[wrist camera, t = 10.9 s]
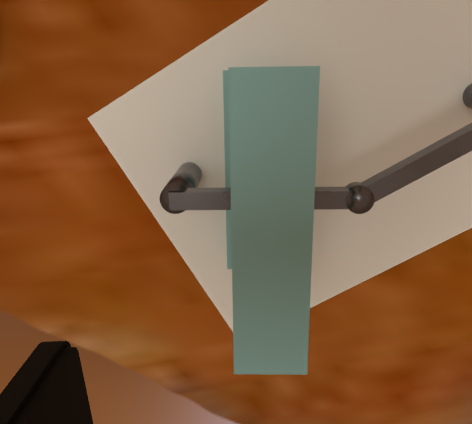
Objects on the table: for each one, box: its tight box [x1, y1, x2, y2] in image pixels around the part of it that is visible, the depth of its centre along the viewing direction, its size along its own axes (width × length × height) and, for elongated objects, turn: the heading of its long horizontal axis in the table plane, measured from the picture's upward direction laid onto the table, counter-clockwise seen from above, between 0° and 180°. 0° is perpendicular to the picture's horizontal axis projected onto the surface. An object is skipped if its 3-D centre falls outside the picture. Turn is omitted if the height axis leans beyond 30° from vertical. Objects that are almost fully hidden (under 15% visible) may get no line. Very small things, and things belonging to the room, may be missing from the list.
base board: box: [88, 0, 472, 331], centre depth 36 cm, size 30×24×2 cm
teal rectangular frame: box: [223, 66, 320, 375], centre depth 29 cm, size 6×16×15 cm, turn 1°
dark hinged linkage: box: [160, 83, 472, 214], centre depth 31 cm, size 25×5×8 cm, turn 106°
